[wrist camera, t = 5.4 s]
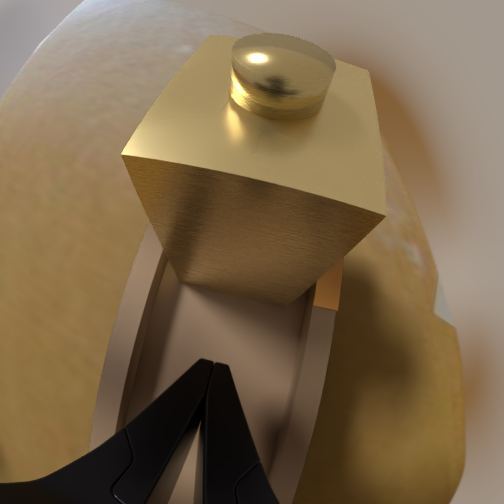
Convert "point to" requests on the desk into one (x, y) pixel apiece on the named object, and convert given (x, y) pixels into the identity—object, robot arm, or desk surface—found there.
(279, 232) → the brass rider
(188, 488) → the balance beam
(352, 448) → the desk surface
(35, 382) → the desk surface
